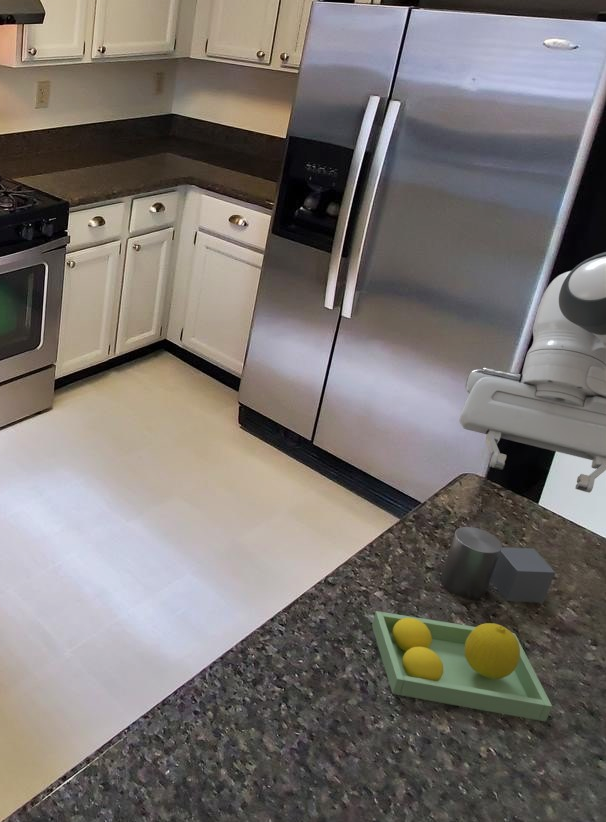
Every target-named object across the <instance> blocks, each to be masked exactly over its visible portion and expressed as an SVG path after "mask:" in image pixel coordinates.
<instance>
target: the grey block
mask: <svg viewBox="0 0 606 822" xmlns="http://www.w3.org/2000/svg"><path fill="white" fill-rule="evenodd" d="M555 576H556V571H555V569H553V567H552V566H550V565H549V564H548V562H547V561H546V559H544V558H543V556H542V555H540V553H539V552H538V551H537V550H536V549H535V548H532V547H531V548H530V547H529V548H528V547H507V546H505V547H503V546H502V549H501V552H500V555H499V557H498V560H497V563H496V566H495V568H494V571H493V574H492V577H491V579H490V582H491V584H492V585H493V586H494V588H496V590H497V591H498V593H499V594H500V595H501V596H502V598H503V599H504V600H505V602H518V603H539V604H540V606H543V604H544V602H545V600H546V598H547V594H548V592H549V589H550V587H551V585H552V582H553V580H554V577H555Z"/></svg>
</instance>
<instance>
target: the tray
mask: <svg viewBox="0 0 606 822" xmlns="http://www.w3.org/2000/svg"><path fill="white" fill-rule="evenodd" d="M403 618H414V619H417V620H419V621H421V622H422V623H424V624H425V625H426V626H427V627H428V629H429V630H430V633H431V636H432V642H431V645H430V647H429V648H428V649H430V650H432V651H433V652H435V653H436V654H437V655H438V656H439V658H440V659H441V661H442V664H443V675H442V677H441V678H440V680H439V681H432V680H426V679H421V678H415V677H409V676H408V675H407V674H406V672H405V671H404V668H403V664H402V660H403V656H404V654H405V653H406V651H404V650H402V649H401V648H400V647H399V646H398V645H397V644H396V642H395V641H394V638H393V627H394V625H395V624H396V623H397V622H398V621H399V620H401V619H403ZM476 627H477V626H472V625H466V624H459V623H453V622H448V621H447V622H446V621H441V620H434V619H430V618H429V619H428V618H423V617H415V616H409V615H404V614H398V613H391V612H384V611H377V610H376V611H375V612H374V616H373V619H372V624H371V628H372V630H373V634H374V637H375V641H376V643H377V647H378V651H379V655H380V657H381V661H382V664H383V668H384V671H385V674H386V676H387V680H388V683H389V687H390V690H391V694H392V695H397V696H402V697H407V698H413V699H420V700H424V701H430V702H436V703H441V704H445V705H451V706H452V705H453V706H459V707H463V708H469V709H475V710H480V711H486V712H489V713H490V712H491V713H497V714H503V715H506V716H511V717H512V716H513V717H519V718H523V719H530V720H533V721H535V720H536V721H539V722H547V720H548V717H549V716H550V713H551V711H552V708H553V705H552V703H551V701H550V699H549V697H548V695H547V693H546V691H545V689H544V687H543V685H542V683H541V681H540V679H539V677H538V675H537V673H536V671H535V670H534V668H533V665H532V663H531V662H530V660H529V658H528V655H527V654H526V652H525V649H523V647H522V645H521V642H520V641H519V638H518V637H517V635H516V633H515V632H512V634H513V635H514V636H515V637H516V639H517V641H518V643H519V648H520V658H519V661H518V665H517V667H516V668H515V670H514V671H513V672H512V673H511V674H510V675H508V676H506V677H504V678H500V679H492V678H487V677H484V676H482V675H480V674H478V673H477V672H476V671H474V670H473V668H472V667H471V666H470V665H469V663H468V662H467V659H466V656H465V642H466V639H467V637H468V636H469V634H470V633H471V632H472V630H473V629H474V628H476Z"/></svg>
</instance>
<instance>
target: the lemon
mask: <svg viewBox="0 0 606 822" xmlns="http://www.w3.org/2000/svg"><path fill="white" fill-rule="evenodd" d="M475 627H476V628H474V629H473V630H472V632H471V633H470V634H469V636H468V637H467V639H466V642H465V656H466V659H467V662H468V663H469V665H470V666H471V667H472V668H473V670H474V671H476V672H477V673H478V674H480V675H482V676H484V677H487V678H492V679H500V678H504V677H506V676H508V675H510V674H511V673H512V672H513V671H514V670H515V668H516V667H517V665H518V661H519V658H520V648H519V643H518V641H517V639H516V637H515V636H514V635H513V634H512V633H513V632H512V631H511V630H509V629H508V628H507V627H505V626H503V625H501V624H498V623H493V622H486V623H482V624H479V625H476V626H475Z"/></svg>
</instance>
